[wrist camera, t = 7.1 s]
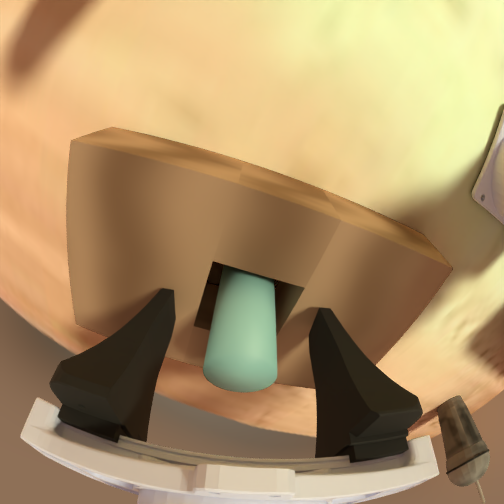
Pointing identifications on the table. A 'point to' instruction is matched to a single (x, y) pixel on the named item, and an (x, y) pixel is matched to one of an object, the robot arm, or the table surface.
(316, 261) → the hole block
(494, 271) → the table surface
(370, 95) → the table surface
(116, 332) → the robot arm
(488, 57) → the table surface
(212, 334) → the peg
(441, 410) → the beverage cup
